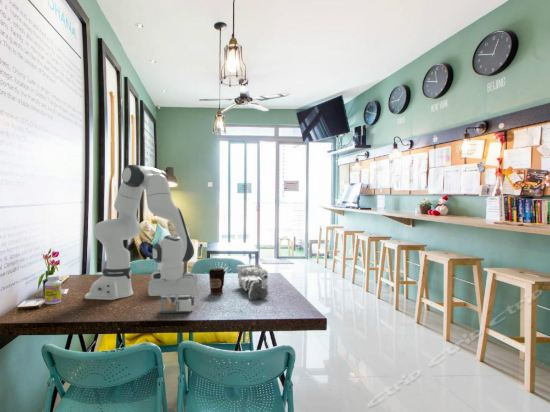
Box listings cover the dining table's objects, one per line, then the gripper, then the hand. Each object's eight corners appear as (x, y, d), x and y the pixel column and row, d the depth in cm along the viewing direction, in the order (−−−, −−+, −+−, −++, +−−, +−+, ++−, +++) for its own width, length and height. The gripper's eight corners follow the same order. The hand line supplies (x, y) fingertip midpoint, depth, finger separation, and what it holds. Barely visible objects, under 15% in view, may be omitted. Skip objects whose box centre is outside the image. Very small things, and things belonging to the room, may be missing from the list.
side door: (176, 311, 154) (176, 300, 154) (177, 310, 156) (177, 299, 156) (190, 311, 155) (190, 300, 155) (191, 309, 157) (191, 299, 157)
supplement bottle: (42, 305, 167) (42, 277, 166) (48, 301, 173) (48, 274, 173) (58, 304, 168) (58, 276, 168) (63, 300, 174) (63, 274, 174)
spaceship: (260, 281, 213) (261, 261, 211) (277, 303, 179) (278, 280, 178) (234, 283, 208) (234, 263, 207) (246, 306, 175) (247, 282, 174)
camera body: (160, 313, 156) (160, 297, 155) (164, 308, 163) (164, 292, 163) (192, 312, 157) (192, 296, 157) (194, 307, 164) (194, 292, 164)
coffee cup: (221, 296, 185) (221, 270, 184) (206, 295, 186) (206, 270, 186) (227, 291, 193) (227, 267, 193) (212, 290, 195) (212, 267, 195)
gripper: (198, 271, 159) (198, 302, 159) (150, 272, 157) (150, 303, 157) (196, 274, 152) (196, 307, 153) (146, 275, 151) (146, 308, 151)
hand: (172, 305), depth 155 cm, fingers closed
